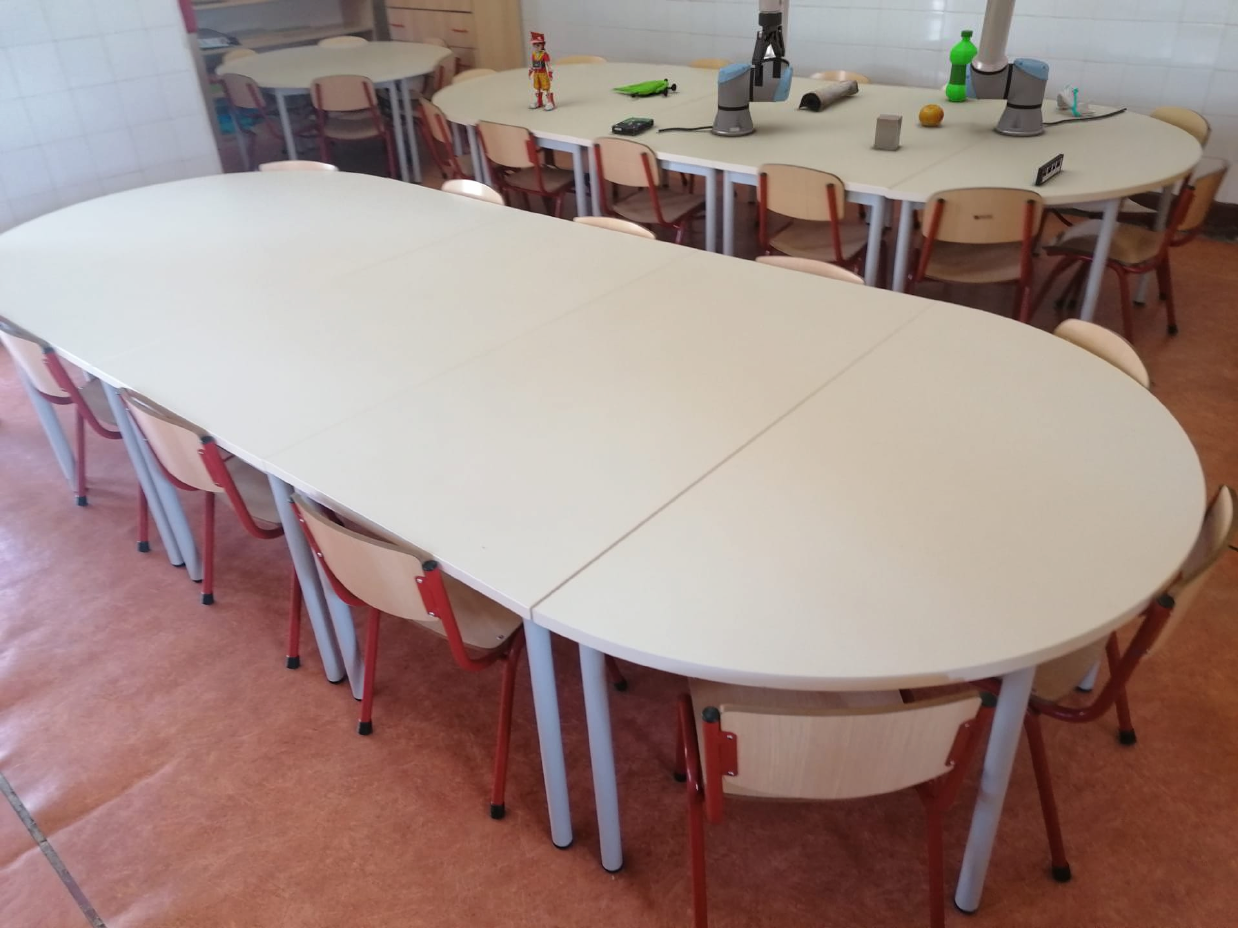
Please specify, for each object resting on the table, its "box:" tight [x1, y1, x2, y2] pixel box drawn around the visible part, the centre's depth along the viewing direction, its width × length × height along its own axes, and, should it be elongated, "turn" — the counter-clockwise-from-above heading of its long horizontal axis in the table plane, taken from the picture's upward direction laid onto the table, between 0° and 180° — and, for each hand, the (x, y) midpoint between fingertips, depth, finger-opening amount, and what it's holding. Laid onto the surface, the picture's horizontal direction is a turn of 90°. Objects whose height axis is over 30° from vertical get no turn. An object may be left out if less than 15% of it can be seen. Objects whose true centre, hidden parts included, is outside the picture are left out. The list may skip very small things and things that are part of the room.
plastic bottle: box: [945, 29, 979, 102], centre depth 350 cm, size 10×10×25 cm
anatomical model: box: [1056, 84, 1096, 117], centre depth 331 cm, size 15×10×10 cm
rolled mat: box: [798, 79, 860, 112], centre depth 363 cm, size 30×9×10 cm
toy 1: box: [527, 31, 556, 111], centre depth 374 cm, size 12×9×30 cm
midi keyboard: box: [1035, 153, 1065, 186], centre depth 273 cm, size 18×1×5 cm, turn 138°
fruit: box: [918, 104, 945, 127], centre depth 327 cm, size 8×8×8 cm
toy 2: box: [612, 78, 677, 99], centre depth 396 cm, size 28×5×30 cm
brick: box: [873, 113, 903, 151], centre depth 307 cm, size 7×5×10 cm
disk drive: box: [611, 116, 655, 136], centre depth 345 cm, size 10×3×15 cm
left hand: (767, 82), depth 300 cm, fingers open, 13 cm apart
